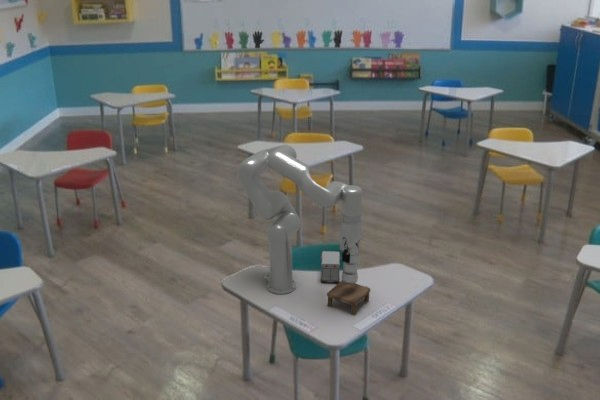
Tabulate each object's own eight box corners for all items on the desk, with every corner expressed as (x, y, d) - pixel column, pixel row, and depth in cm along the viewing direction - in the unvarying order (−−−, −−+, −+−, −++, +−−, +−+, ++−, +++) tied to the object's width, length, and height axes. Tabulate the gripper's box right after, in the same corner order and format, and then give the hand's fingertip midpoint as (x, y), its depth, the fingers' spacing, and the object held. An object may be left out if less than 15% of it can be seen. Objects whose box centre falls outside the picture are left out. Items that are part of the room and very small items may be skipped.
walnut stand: (326, 305, 233) (326, 293, 231) (342, 291, 243) (342, 279, 241) (354, 315, 226) (355, 302, 224) (369, 300, 236) (370, 288, 234)
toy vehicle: (340, 265, 265) (341, 246, 261) (341, 284, 249) (341, 264, 245) (320, 264, 265) (320, 245, 261) (319, 284, 249) (319, 263, 245)
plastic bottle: (348, 288, 226) (350, 243, 219) (338, 281, 232) (339, 237, 224) (361, 283, 230) (362, 238, 222) (350, 276, 235) (351, 232, 227)
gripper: (353, 207, 228) (352, 247, 235) (331, 222, 215) (331, 264, 222) (370, 211, 224) (368, 252, 231) (349, 227, 211) (347, 270, 218)
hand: (350, 258), depth 227 cm, fingers closed on plastic bottle, 6 cm apart
